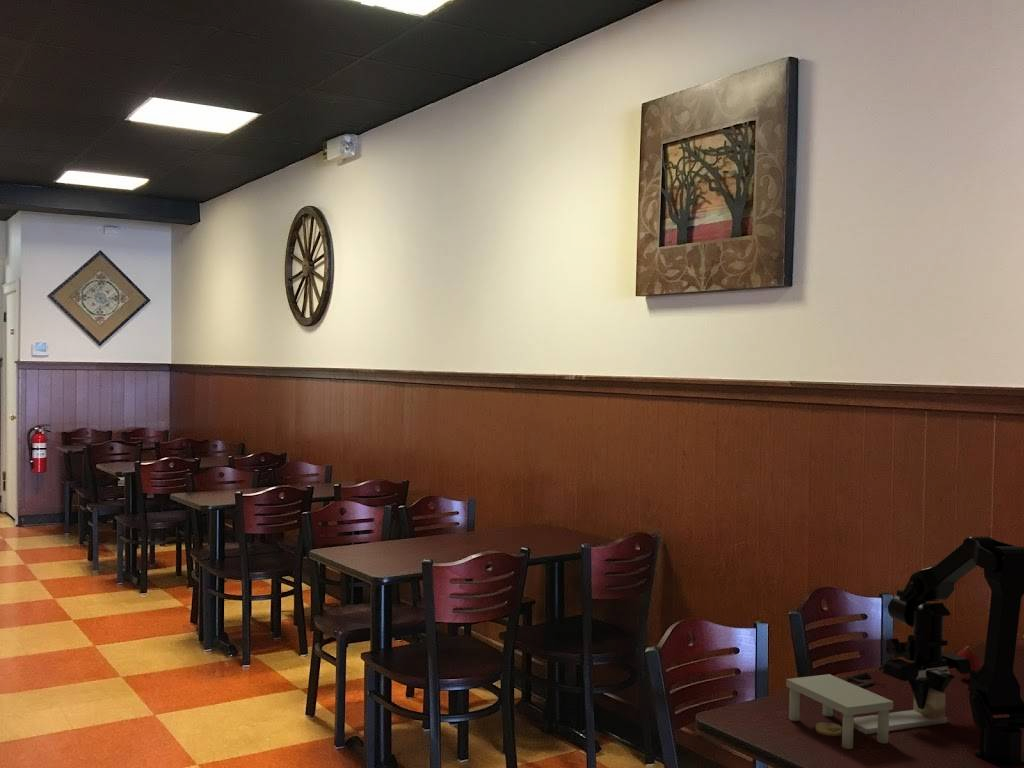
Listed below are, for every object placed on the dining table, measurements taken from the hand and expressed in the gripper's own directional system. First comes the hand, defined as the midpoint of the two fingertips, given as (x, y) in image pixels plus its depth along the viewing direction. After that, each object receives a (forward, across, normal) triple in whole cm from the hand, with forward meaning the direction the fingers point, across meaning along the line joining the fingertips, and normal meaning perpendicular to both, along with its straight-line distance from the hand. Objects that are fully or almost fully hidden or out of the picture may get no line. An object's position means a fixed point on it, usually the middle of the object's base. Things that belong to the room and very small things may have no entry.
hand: (926, 707), depth 202 cm
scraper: (+2, +8, +1) cm, 9 cm away
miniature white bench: (+2, +23, 0) cm, 23 cm away
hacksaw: (+3, +2, -20) cm, 20 cm away
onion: (+2, -30, -17) cm, 34 cm away
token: (+2, +25, 0) cm, 25 cm away
